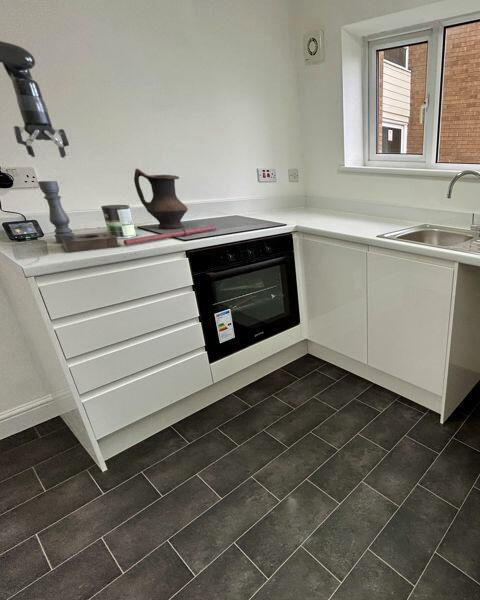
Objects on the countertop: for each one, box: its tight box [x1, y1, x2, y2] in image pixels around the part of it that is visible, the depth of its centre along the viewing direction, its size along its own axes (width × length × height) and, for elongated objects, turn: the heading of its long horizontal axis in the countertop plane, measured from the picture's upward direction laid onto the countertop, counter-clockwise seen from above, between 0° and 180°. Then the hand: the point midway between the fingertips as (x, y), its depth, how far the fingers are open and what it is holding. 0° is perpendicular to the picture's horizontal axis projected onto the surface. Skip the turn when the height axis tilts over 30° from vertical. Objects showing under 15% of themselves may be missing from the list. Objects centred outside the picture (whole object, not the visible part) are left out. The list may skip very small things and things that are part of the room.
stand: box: [60, 231, 120, 253], centre depth 146 cm, size 16×16×4 cm
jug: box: [133, 168, 188, 230], centre depth 185 cm, size 21×18×30 cm
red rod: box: [122, 225, 217, 246], centre depth 167 cm, size 45×3×3 cm, turn 157°
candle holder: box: [37, 180, 75, 244], centre depth 148 cm, size 6×6×25 cm
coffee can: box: [100, 204, 137, 240], centre depth 163 cm, size 10×10×14 cm
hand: (48, 157), depth 136 cm, fingers open, 8 cm apart
